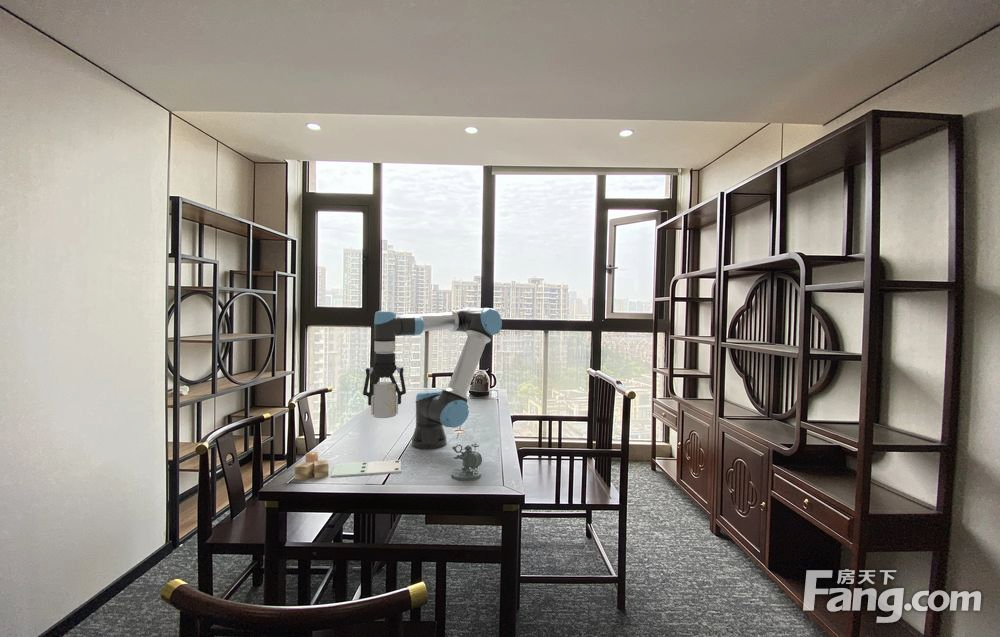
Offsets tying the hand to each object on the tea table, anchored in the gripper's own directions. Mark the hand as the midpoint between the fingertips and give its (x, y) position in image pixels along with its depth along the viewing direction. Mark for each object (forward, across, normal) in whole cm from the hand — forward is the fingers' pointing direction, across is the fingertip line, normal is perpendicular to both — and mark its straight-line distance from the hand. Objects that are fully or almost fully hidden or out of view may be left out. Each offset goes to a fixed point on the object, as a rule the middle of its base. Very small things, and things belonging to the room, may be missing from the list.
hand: (384, 413), depth 168 cm
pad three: (+20, +12, 0) cm, 24 cm away
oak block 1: (+21, +27, +4) cm, 34 cm away
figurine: (+21, -29, +13) cm, 38 cm away
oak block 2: (+21, +22, +3) cm, 30 cm away
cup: (+1, 0, 0) cm, 1 cm away
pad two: (+20, 0, 0) cm, 20 cm away
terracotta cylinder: (+20, +26, -3) cm, 33 cm away
